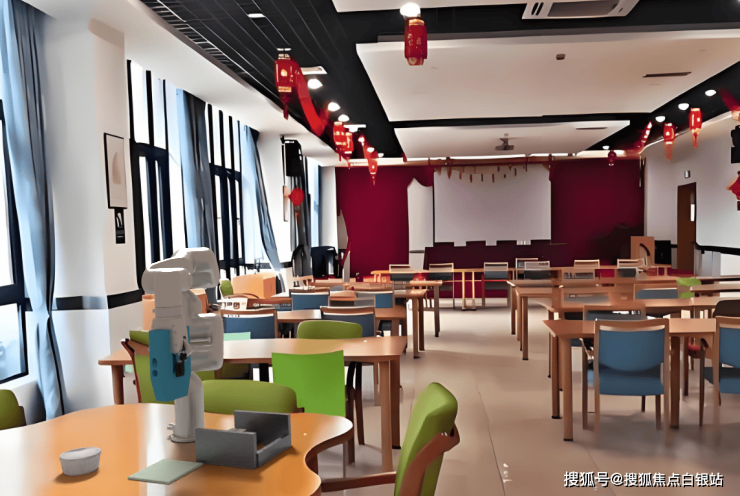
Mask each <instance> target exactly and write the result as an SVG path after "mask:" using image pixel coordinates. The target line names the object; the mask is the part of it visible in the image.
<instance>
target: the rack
mask: <svg viewBox="0 0 740 496" xmlns="http://www.w3.org/2000/svg"><path fill="white" fill-rule="evenodd" d="M233 419H234V422H233V423H234V428H236V429H247V432H242V431H230V430H229V429H228V430H227V429H218V428H217V429H216V428H207V427H205V428H197V429H195V441H194V442H195V443H194V444H195V462H198V463H203V465H211V466H221V467H230V468H239V469H247V470H256V469H257V468H261V467H262V466H264V465H265V464H267V463H269V462H270V461H271V460H273V459H274V458H276V457H278V455H280V454H282V453H284V452H285V451H286V450H288V449H289V448H291V446H292V428H291V427H292V426H291V423H292V421H291V419H292V418H291V413H284V412H271V411H255V410H243V409H242V410H241V409H235V410H234V411H233ZM257 445H265V446H263V447H262V448H260V449H258V450H257V447H258V446H257Z"/></svg>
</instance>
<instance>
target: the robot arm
mask: <svg viewBox="0 0 740 496" xmlns="http://www.w3.org/2000/svg"><path fill="white" fill-rule="evenodd" d="M220 275H221V274H220V268H219V265H218V261H217V257H216V255H215V253H214V251H213V250H212V249H211V248H208V247H191V248H190V247H189V248H187V247H186V248H180V249H178V250H175V252H174V253H173V254H172V255H171V257H170V258H166V259H163V260H161V261H160V260H159V261H157V262H154V263H151V264H150V265H148V266H147V267H146V268H145V270H144V272H143V273H142V276H141V287H142V289H143V291H144V292H145V293H146V294H148V295H154V297H153V298H154V308H153V309H152V313H153V314H154V318H152V321H151V328H150V330H155V329H158V330H170V352H171V353H174V354H175V357H176V360H177V363H176V364H175V369H176V377H180V376H183V375H184V374H185V365H184V361H186V359H187V358H188V357H189V355H191V376H190V383H189V390H188V395H187V396H185V397H182V398H178V399H175V400H173V401H174V402H173V403H174V422H169V424H168V425H167V427H166V429H167V431H172V434H171V435H170V440H171V441H173V442H175V443H191V442H195V429H197V428H206V426H205V423H206V422H205V401H204V400H205V399H204V398H205V397H204V384H203V381H202V379H201V377H200V376H198V374H197V372H206V371H217V370H220V369H221V368H222V367H223V363H224V350H225V349H224V344H225V343H224V337H225V336H224V335H225V334H224V333H225V332H224V321H223V318H222V316H221V315H220V314H218V313H203V302H202V300H201V299H200V297H198V295H197V294H195V292H193V291H192V289H212V288H216V287H218V285H219V283H220V278H221V276H220ZM190 289H191V290H190ZM186 326H189V328H190V344H189V343H188V334H187V327H186ZM147 351H148V352H149V346H148V348H147ZM184 351H186V352H185V353H184ZM180 356H181V357H180Z"/></svg>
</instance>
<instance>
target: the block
mask: <svg viewBox="0 0 740 496" xmlns="http://www.w3.org/2000/svg"><path fill="white" fill-rule="evenodd" d="M186 327H187V334H188V343H189V344H190V343H191V342H190V328H189V326H186ZM148 347H149V351H148V353H149V373H150V374H149V375H150V376H149V377H150V383H151V386H152V390H153V394H154V398H155V401H156V402H165V403H169V402H173V401H174V400H175V399H178V398H182V397H185V396H187V395H188V390H189V383H190V376H191V355H189V357H188V358H187V359H186V361H184V365H185V374H184V375H183V376H180V377H176V369H175V364H176V363H177V360H176V357H175V354H174V353H171V352H170V330H158V329H155V330H151V329H150V330H148ZM185 352H186V351H184V353H185ZM180 357H181V356H180Z"/></svg>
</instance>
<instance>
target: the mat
mask: <svg viewBox="0 0 740 496" xmlns="http://www.w3.org/2000/svg"><path fill="white" fill-rule="evenodd" d="M203 465H204V464H203V463H198V462H196V461H195V462H194V461H187V460H177V459H170V458H162V459H160V460H159V461H156V462H154V463H153V464H151V465H149V466H147V467H145V468H143V469H140V470H138V471H137V472H135V473H133V474H131V475H128V476H127V480H134V481H140V482H148V483H158V484H164V485H165V484H167V485H169V484H171V483H173V482H175V481H177V480H178V479H180V478H182V477H184V476H186V475H188V474H189V473H191V472H193V471H195V470H196V469H198V468H200V467H202V466H203Z"/></svg>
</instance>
